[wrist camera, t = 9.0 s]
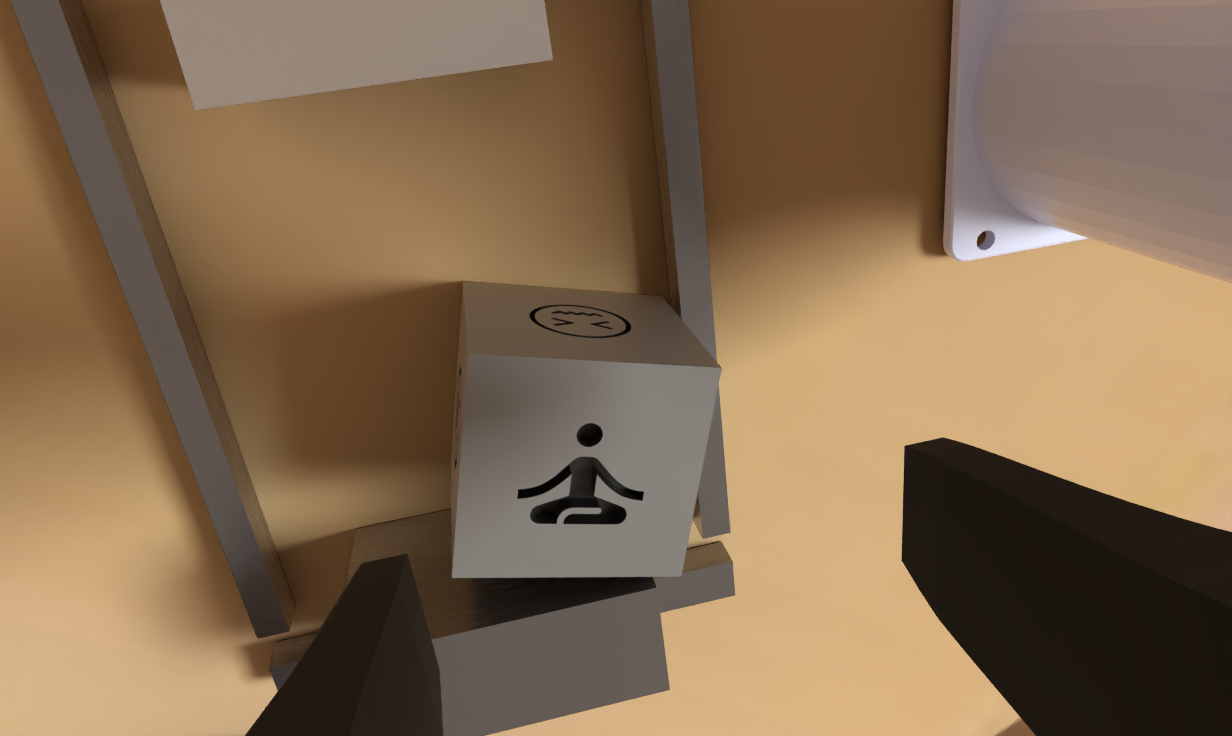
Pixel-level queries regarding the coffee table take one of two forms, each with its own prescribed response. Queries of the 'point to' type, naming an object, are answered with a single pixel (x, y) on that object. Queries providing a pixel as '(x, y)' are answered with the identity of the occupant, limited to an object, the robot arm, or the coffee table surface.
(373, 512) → the coffee table surface
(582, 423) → the grey marked cube
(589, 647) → the grey rail frame
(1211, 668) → the robot arm
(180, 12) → the l-shaped block holder
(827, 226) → the coffee table surface
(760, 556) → the coffee table surface
